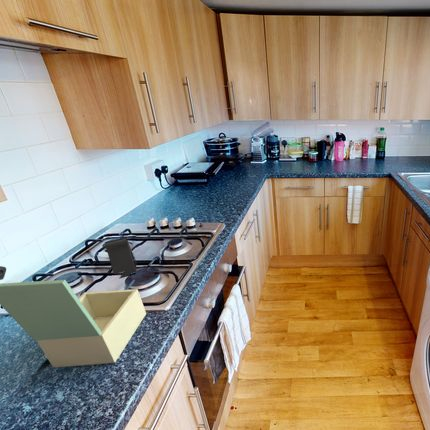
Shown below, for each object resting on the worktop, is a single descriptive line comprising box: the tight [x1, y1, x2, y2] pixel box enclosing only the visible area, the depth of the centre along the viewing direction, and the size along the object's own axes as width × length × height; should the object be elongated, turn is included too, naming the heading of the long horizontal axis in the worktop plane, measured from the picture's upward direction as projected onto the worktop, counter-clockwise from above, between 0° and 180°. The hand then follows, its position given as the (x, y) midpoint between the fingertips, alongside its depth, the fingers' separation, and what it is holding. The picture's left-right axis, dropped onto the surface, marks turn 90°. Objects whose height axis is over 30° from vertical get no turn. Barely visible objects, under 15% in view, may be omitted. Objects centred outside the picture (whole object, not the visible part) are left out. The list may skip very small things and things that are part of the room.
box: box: [36, 288, 147, 369], centre depth 71 cm, size 16×14×9 cm
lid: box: [0, 279, 102, 341], centre depth 58 cm, size 16×14×1 cm
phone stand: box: [104, 236, 137, 279], centre depth 97 cm, size 9×6×12 cm, turn 31°
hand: (0, 273), depth 49 cm, fingers closed
